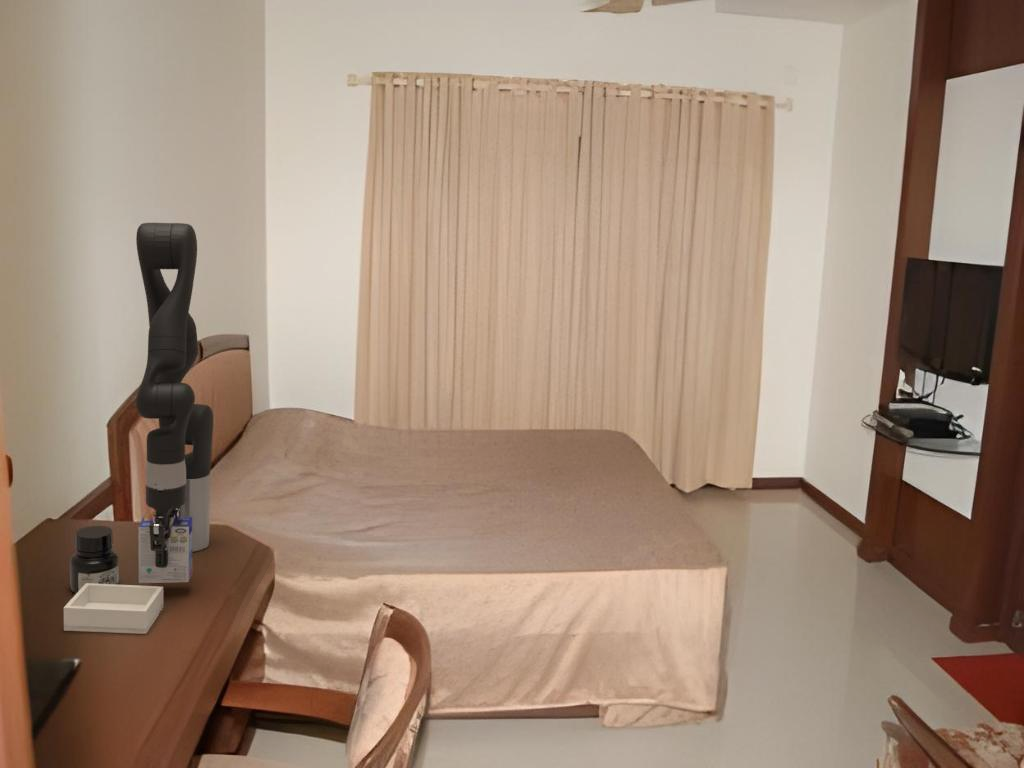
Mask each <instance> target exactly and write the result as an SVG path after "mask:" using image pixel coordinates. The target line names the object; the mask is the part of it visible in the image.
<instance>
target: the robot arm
mask: <svg viewBox="0 0 1024 768" xmlns="http://www.w3.org/2000/svg"><path fill="white" fill-rule="evenodd" d="M135 236H136V238H135V239H136V240H135V242H136V250H137V257H138V263H139V268H140V271H141V278H142V283H143V286H144V292H145V298H146V303H147V304H146V306H147V313H148V314H147V315H148V325H149V329H148V337H147V358H146V360H147V361H146V367H145V372H144V374H143V378H142V380H141V383H140V386H139V388H138V391H137V395H136V398H135V407H136V408H135V409H136V410H137V412H138V414H139V415H140V416H141V417H142V418H145V419H149V420H150V419H153V420H155V419H156V420H158V426H159V427H158V428H155V429H154V428H153V429H152V430H150V431H149V432H148V433H147V435H146V465H145V504H146V506H147V507H149V508H151V509H153V510H155V513H154V514H153V515H152V518H153V523H154V524H150V526H149V528H150V543H151V551H155V565H156V567H158V568H166V567H167V565H168V543H169V539H170V538H171V537H172V525H173V524H174V523H175V517H176V520H177V519H178V517H192V527H193V552H198V551H202V550H205V549H206V548H207V547H209V546H210V523H211V521H210V519H211V518H210V517H211V516H210V514H211V509H210V508H211V507H210V506H211V463H212V451H213V450H212V447H213V446H212V444H213V435H214V433H213V432H214V413H213V410H212V408H211V407H210V406H209V405H207V404H200V403H195V401H196V395H195V391H194V389H193V388H192V387H191V385H190V384H188V383H186V382H182V381H183V380H184V378H185V377H186V375H187V374H188V373H189V371H190V370H191V368H192V366H193V365H195V364H194V363H195V362H196V360H197V357H198V355H199V343H198V342H199V341H198V332H197V331H198V330H197V325H196V323H195V320H194V319H193V317H192V316H191V314H190V312H189V311H190V307H191V301H192V295H193V287H194V281H195V274H196V267H197V258H198V240H197V234H196V231H195V229H194V227H193V226H192V225H191V224H189V223H183V222H182V223H181V222H143V223H140V225H138V228H137V230H136V235H135ZM162 270H177V274H176V279H175V282H174V284H173V286H172V289H171V290H170V289H169V286H168V285H167V283H166V282H165V278H164V277H163V274H162ZM185 445H187V446H192V451H191V452H188V453H186V446H185ZM185 453H186V454H185ZM174 508H176V510H174ZM168 528H169V529H168ZM167 530H168V533H167V534H165V531H167ZM158 541H160V542H161V544H158Z"/></svg>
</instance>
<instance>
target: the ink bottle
mask: <svg viewBox="0 0 1024 768" xmlns="http://www.w3.org/2000/svg"><path fill="white" fill-rule="evenodd" d="M113 531H114V530H112V528H111V527H109V526H105V525H91V526H90V525H89V526H86V527H82V528H79V529H77V530H76V531H75V533H74V541H75V542H74V544H75V551H76V552H75V553H73V555H71V556H70V560H69V585H70V590H71V591H72V592H73V593H74V594H76V593H77V592H78V591H79V590H80V589H81V588H82V587H83V586H84V585H85V584H86V583H94V584H116V585H119V581H120V579H119V577H120V576H119V555H118V553H117V552H116V551H115V550H113V542H114V538H113V536H114V535H113Z"/></svg>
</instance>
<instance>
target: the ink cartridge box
mask: <svg viewBox="0 0 1024 768" xmlns="http://www.w3.org/2000/svg"><path fill="white" fill-rule="evenodd" d="M174 510H176V508H174ZM150 524H154V523H153V517H143V518H142V519H141V521H140V522H139V525H138V528H137V533H138V534H137V536H138V537H137V544H138V545H137V547H138V548H137V551H138V553H137V556H138V559H137V560H138V580H137V581H138V584H156V583H157V584H160V583H162V584H163V583H164V584H165V583H167V584H168V583H189V582H190V580H191V577H192V575H193V572H194V571H193V527H192V517H178V519H177V520H176V517H175V523H174V524H173V525H172V537H171V538H170V539H169V543H168V565H167V567H166V568H158V567H156V565H155V551H151V543H150V528H149V526H150ZM168 529H169V528H168ZM167 533H168V530H167V531H165V534H167ZM158 544H161V542H160V541H158Z"/></svg>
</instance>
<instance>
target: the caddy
mask: <svg viewBox="0 0 1024 768" xmlns="http://www.w3.org/2000/svg"><path fill="white" fill-rule="evenodd" d="M162 608H163V609H164V586H160V585H159V586H157V585H155V586H154V585H153V586H152V585H135V584H134V585H133V584H118V585H116V584H94V583H86V584H85V585H84V586H83V587H82V588H81V589H80V590H79V591H78V592H77V593H75V594H74V596H73V597H72V598H70V600H69V601H67V603H66V605H65V606H64V607H63V631H64V632H65V631H66V632H67V631H68V632H70V631H71V632H92V633H115V634H116V633H117V634H118V633H119V634H142V635H143V634H144V635H146V634H147V633H148V632H149V630H150V629H151V627H152V626H153V624H154V622H155V621H156V619H157V618H158V617H159V615H160V614H159V613H161V612H162V611H163V609H162ZM161 610H162V611H161ZM160 611H161V612H160Z"/></svg>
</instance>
